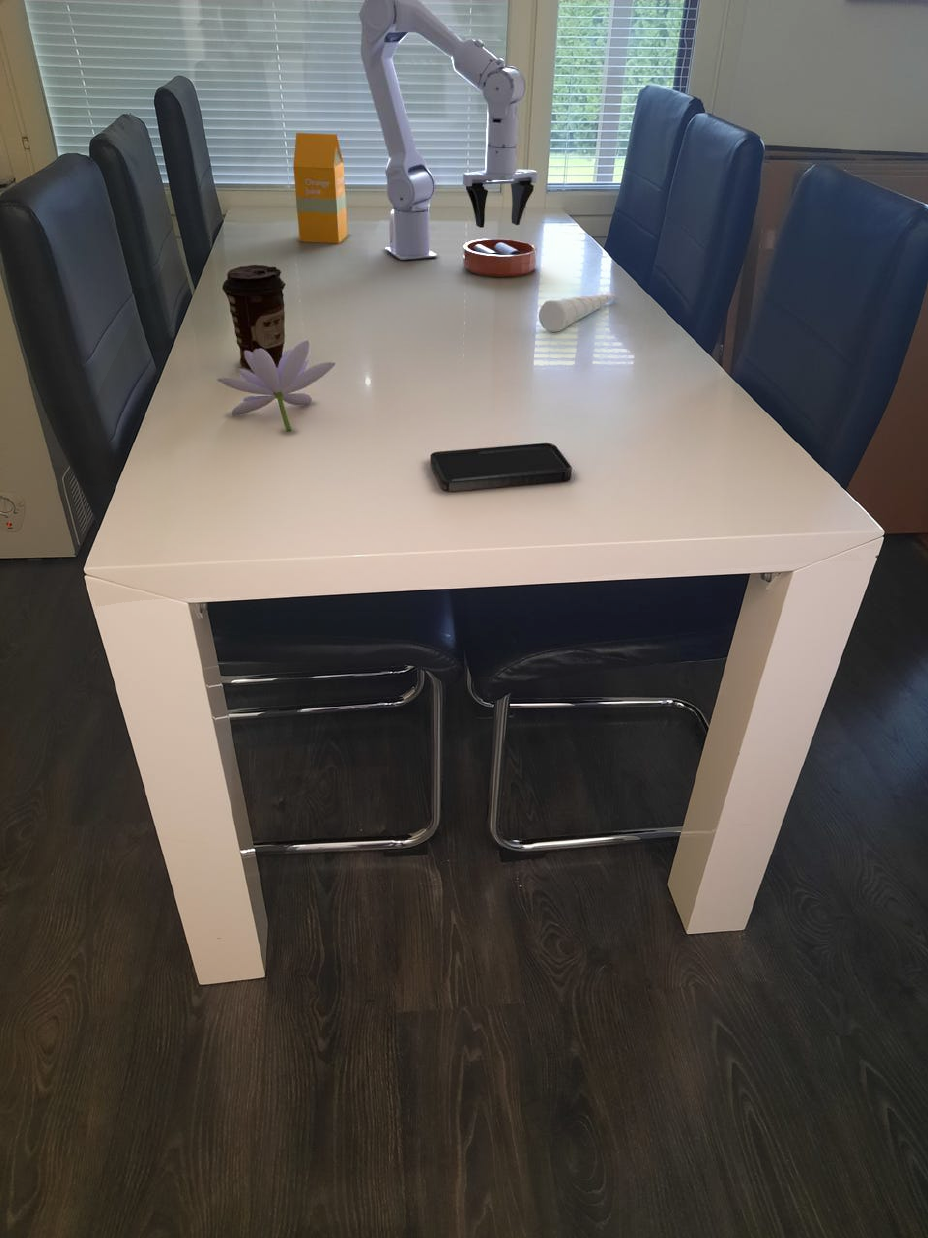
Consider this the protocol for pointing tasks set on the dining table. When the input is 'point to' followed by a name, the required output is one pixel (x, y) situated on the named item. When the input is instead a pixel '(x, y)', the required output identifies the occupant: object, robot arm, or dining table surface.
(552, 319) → the unicorn horn
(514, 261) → the bowl
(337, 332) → the dining table surface
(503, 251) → the navy tube
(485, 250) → the black cylinder
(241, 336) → the coffee cup
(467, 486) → the phone
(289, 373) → the water lily
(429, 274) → the dining table surface
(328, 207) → the orange juice
